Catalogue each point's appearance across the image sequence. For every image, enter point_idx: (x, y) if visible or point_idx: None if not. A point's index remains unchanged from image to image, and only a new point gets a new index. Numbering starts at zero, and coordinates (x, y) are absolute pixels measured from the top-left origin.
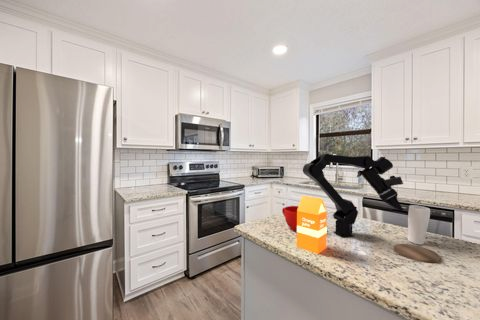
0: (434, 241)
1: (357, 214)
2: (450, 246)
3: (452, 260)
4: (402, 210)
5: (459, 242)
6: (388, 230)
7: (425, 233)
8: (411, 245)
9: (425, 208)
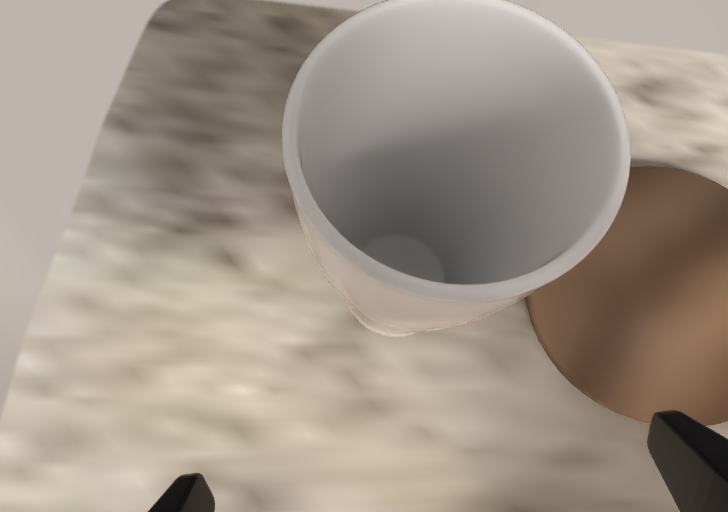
0: (271, 177)
1: None
2: None
3: None
4: (676, 424)
5: (189, 54)
6: None
7: (428, 203)
8: (557, 312)
9: (335, 56)
